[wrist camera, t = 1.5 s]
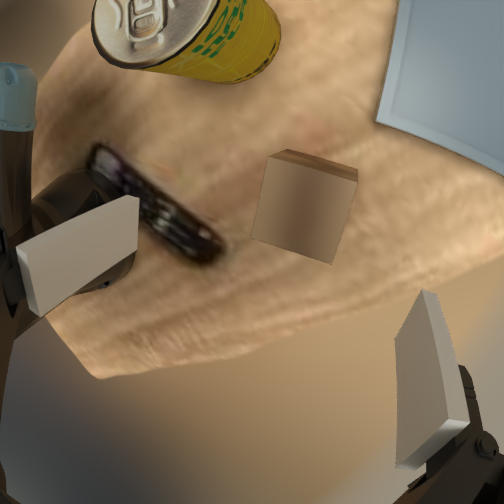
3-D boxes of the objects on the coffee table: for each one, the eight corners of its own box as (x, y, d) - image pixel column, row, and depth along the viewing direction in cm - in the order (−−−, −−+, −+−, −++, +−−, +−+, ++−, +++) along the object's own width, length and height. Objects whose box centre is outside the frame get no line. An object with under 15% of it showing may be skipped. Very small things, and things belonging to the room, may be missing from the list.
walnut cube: (272, 214, 28) (250, 238, 23) (287, 148, 25) (268, 156, 20) (337, 235, 27) (331, 264, 21) (357, 169, 24) (357, 182, 19)
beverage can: (271, -16, 19) (210, -84, 9) (289, 72, 22) (234, 37, 12) (179, 12, 22) (89, -22, 12) (192, 94, 25) (97, 90, 15)
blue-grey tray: (373, 121, 22) (375, 120, 18) (405, -77, 12) (408, -97, 9) (527, 190, 19) (547, 201, 15) (550, -5, 9) (567, -15, 5)
